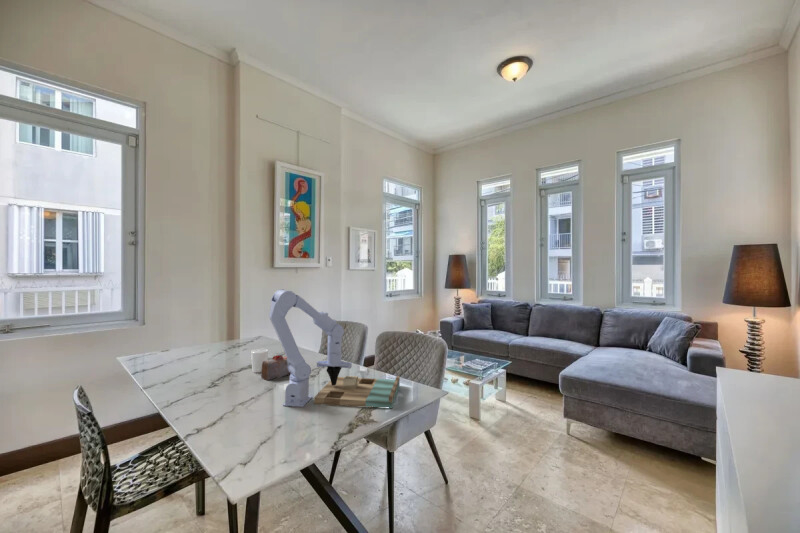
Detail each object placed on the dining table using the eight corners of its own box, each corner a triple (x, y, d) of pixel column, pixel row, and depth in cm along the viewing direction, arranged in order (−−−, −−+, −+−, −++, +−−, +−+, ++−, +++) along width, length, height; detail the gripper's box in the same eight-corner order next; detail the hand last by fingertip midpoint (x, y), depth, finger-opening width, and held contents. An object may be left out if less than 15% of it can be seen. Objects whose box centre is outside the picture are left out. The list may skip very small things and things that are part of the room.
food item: (286, 371, 163) (286, 351, 164) (295, 374, 158) (295, 354, 158) (259, 377, 153) (260, 356, 153) (268, 381, 148) (268, 360, 148)
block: (355, 390, 132) (355, 380, 132) (343, 389, 133) (343, 379, 133) (358, 385, 137) (358, 376, 137) (346, 385, 138) (346, 375, 138)
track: (391, 409, 121) (391, 397, 121) (314, 404, 124) (314, 392, 124) (399, 385, 145) (399, 376, 145) (334, 382, 148) (334, 372, 148)
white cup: (263, 373, 159) (264, 352, 159) (247, 373, 159) (248, 352, 159) (270, 368, 167) (270, 348, 167) (255, 368, 167) (255, 348, 167)
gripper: (353, 350, 139) (353, 382, 139) (321, 348, 141) (320, 380, 141) (349, 354, 132) (348, 388, 132) (314, 353, 134) (314, 386, 134)
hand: (334, 384), depth 136 cm, fingers closed
